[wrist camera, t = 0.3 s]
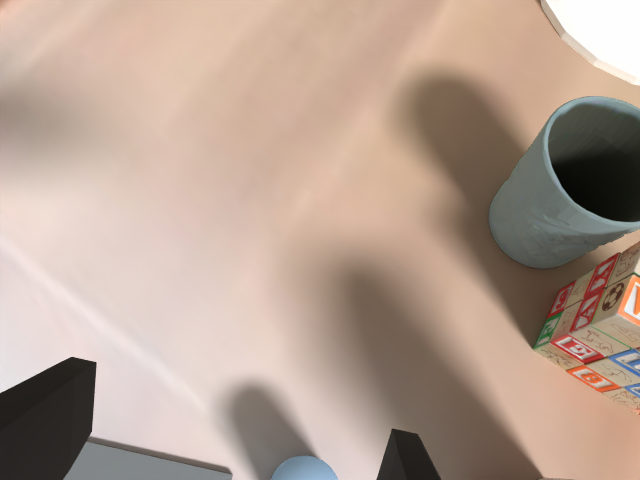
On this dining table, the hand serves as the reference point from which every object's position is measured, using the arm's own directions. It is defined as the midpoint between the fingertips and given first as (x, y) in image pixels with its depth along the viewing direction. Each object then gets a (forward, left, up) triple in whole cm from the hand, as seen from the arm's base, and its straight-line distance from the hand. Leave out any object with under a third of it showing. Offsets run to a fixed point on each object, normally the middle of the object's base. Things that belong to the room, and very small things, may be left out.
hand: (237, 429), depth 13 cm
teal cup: (+23, -19, -29) cm, 41 cm away
